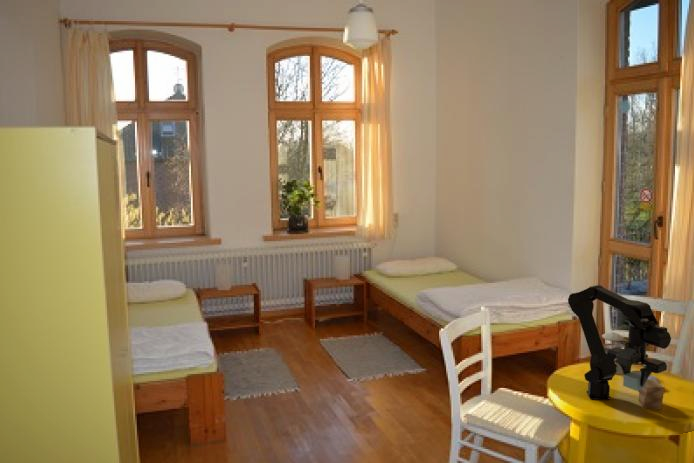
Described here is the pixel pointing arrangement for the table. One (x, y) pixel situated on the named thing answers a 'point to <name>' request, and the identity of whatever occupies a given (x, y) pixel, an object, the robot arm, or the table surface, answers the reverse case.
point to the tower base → (650, 402)
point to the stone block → (650, 378)
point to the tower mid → (652, 390)
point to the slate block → (633, 381)
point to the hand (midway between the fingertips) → (634, 383)
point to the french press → (612, 338)
